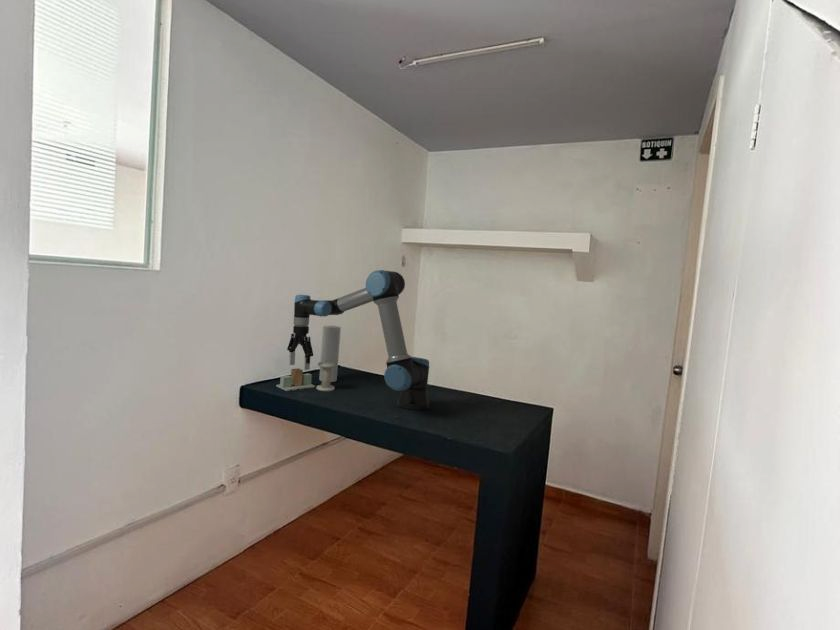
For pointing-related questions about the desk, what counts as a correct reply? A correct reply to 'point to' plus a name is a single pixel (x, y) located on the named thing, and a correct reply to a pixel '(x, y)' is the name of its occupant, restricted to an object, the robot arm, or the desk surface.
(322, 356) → the cylinder container
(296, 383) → the brown wooden block
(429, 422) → the desk surface
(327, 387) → the bobbin
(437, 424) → the desk surface
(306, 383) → the terminal board
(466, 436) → the desk surface
